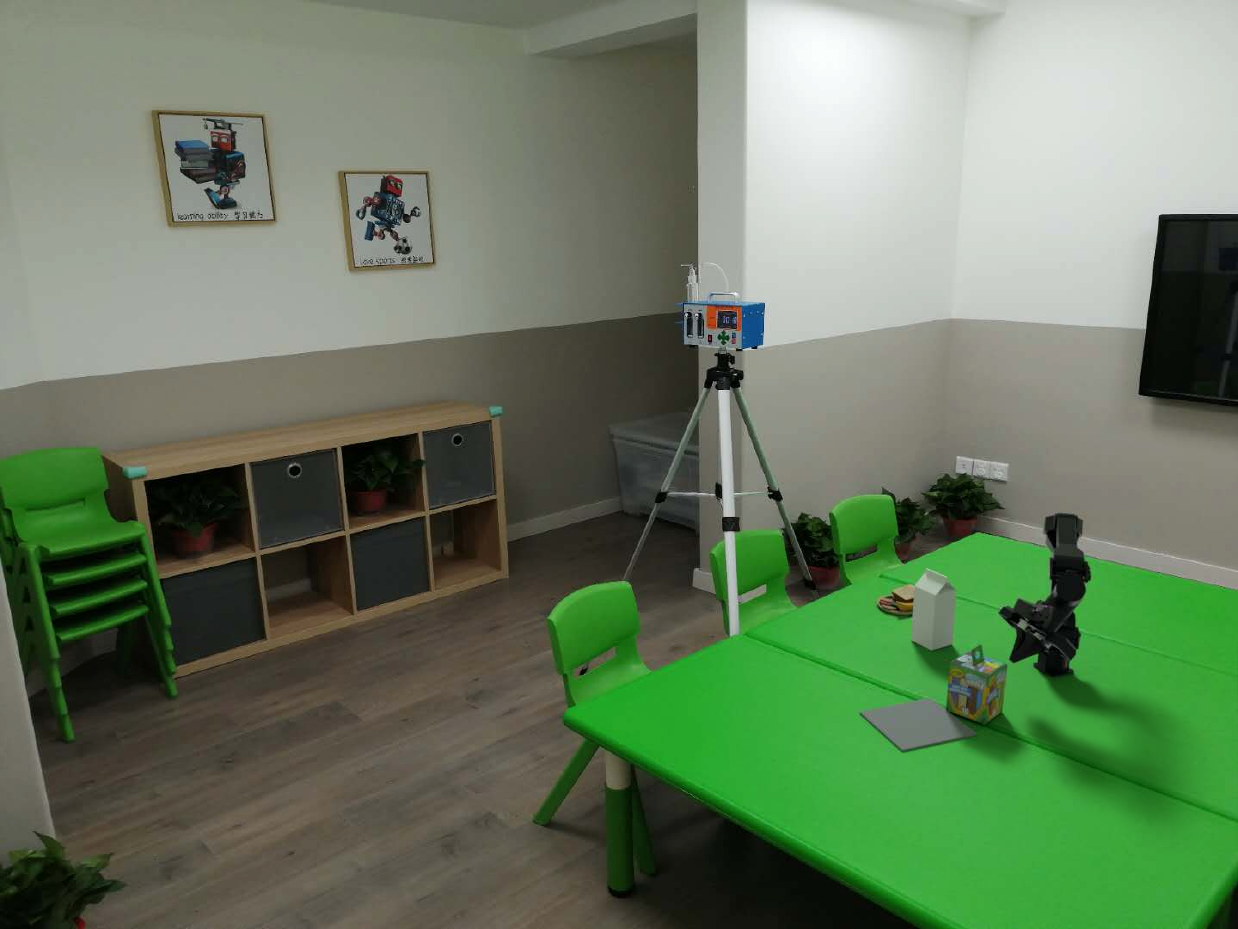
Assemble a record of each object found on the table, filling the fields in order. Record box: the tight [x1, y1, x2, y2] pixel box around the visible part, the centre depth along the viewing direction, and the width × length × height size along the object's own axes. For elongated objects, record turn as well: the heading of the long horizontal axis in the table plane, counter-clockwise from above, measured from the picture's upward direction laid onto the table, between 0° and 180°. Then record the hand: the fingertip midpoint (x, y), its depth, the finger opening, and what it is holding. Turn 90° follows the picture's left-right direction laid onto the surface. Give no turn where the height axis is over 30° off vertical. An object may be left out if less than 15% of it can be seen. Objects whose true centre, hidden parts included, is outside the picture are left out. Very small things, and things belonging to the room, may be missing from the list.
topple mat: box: [859, 697, 978, 752], centre depth 201 cm, size 18×16×1 cm
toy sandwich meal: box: [876, 583, 916, 616], centre depth 259 cm, size 12×14×5 cm
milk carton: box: [910, 568, 957, 652], centre depth 235 cm, size 7×7×19 cm
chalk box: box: [945, 644, 1008, 725], centre depth 203 cm, size 9×9×15 cm
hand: (1011, 661), depth 204 cm, fingers closed
